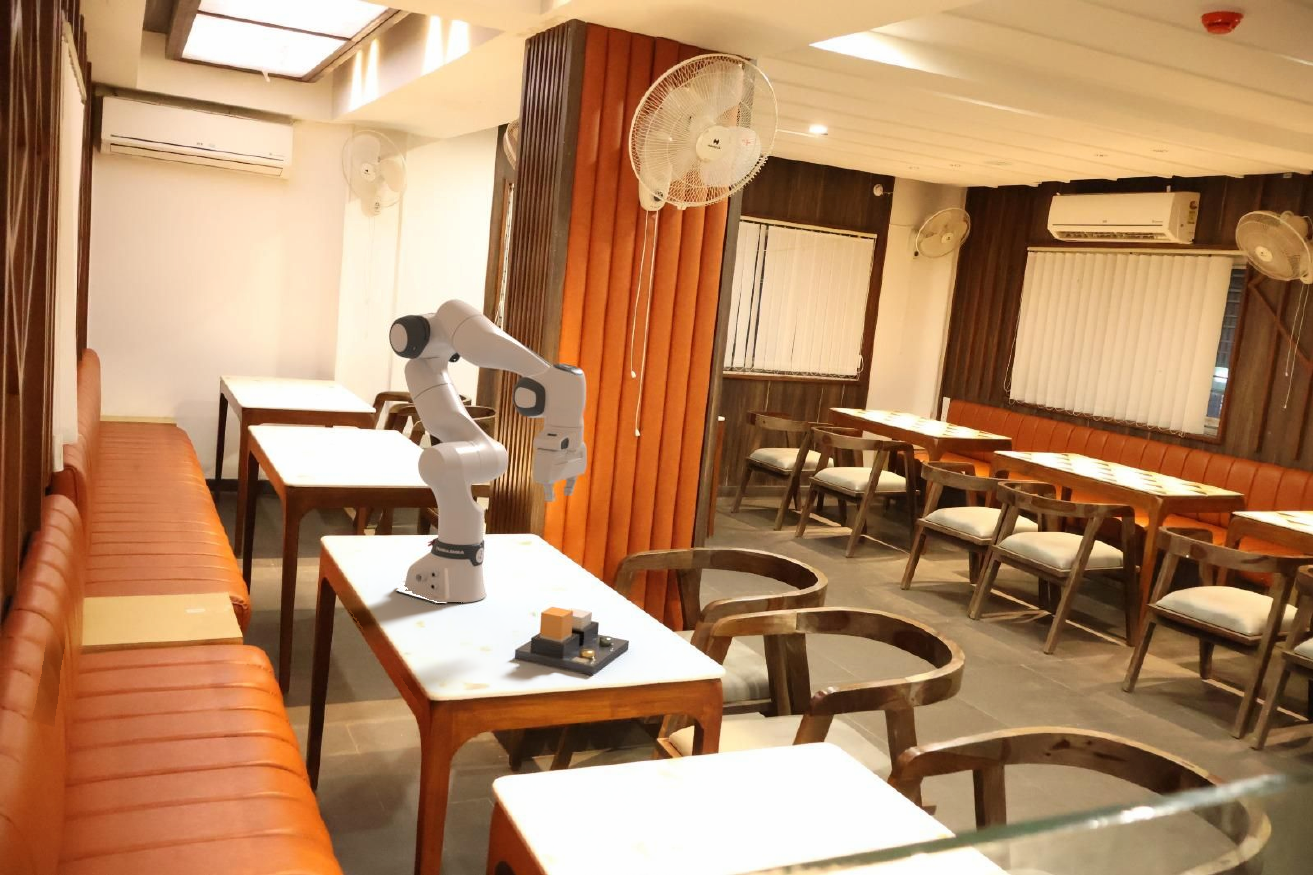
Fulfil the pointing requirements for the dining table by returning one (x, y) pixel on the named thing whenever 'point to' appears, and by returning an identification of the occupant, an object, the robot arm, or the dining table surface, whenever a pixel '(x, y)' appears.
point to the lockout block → (556, 623)
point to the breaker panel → (574, 651)
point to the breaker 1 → (556, 639)
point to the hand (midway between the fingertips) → (559, 498)
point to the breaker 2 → (581, 618)
